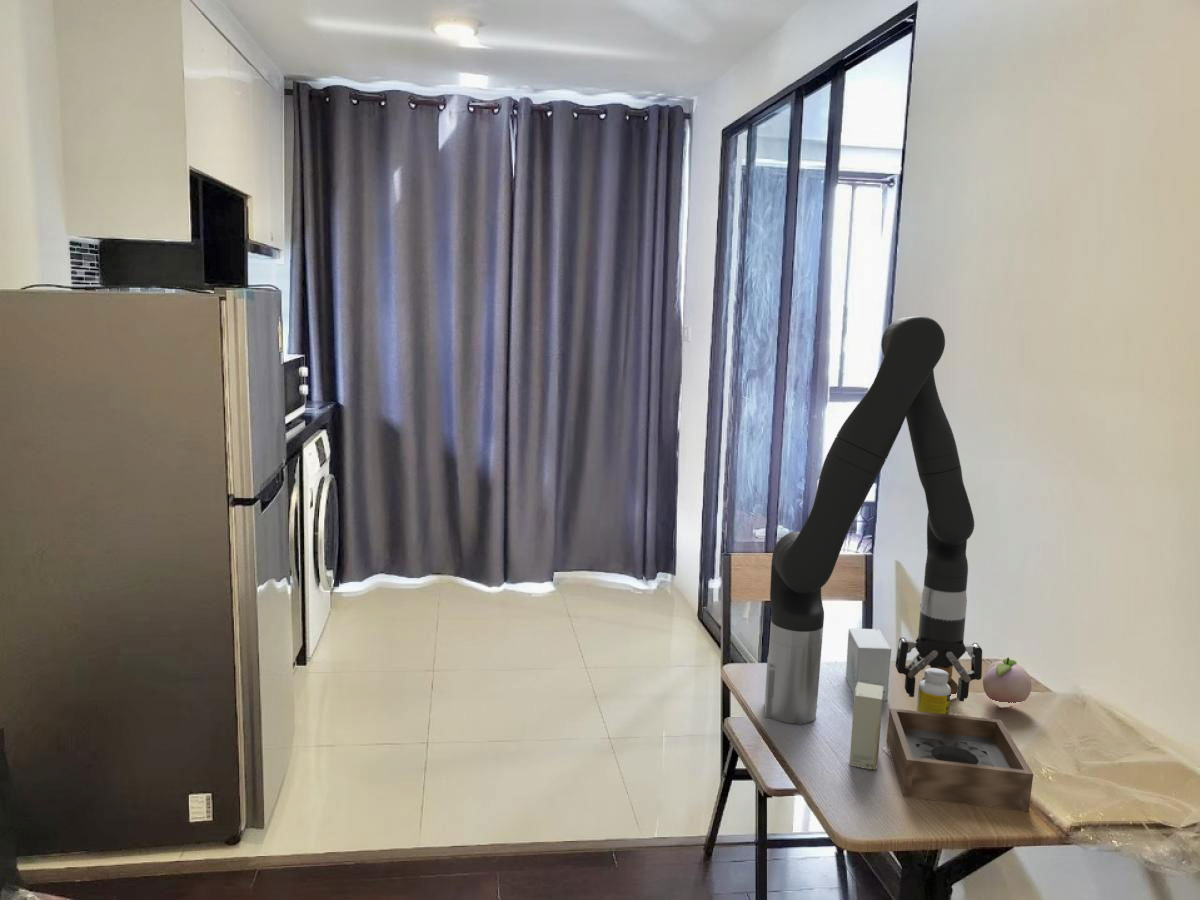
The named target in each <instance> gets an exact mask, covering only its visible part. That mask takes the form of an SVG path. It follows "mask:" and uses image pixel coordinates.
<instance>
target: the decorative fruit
mask: <svg viewBox="0 0 1200 900" xmlns="http://www.w3.org/2000/svg"><path fill="white" fill-rule="evenodd" d="M982 677H983V678H982V687H983V691H984V692H985V695H986V696H988V697H989V698H990V699H992V700H995V701H999V702H1008V703H1010V702H1011V703H1012V702H1013V703H1016V702H1022V701H1024V702H1025V701H1026V700H1027V699H1028V698H1029V696H1030V695H1031V691H1032V681H1031V680H1032V679H1031V677H1030V674H1029V672H1027V670H1026V669H1025V668H1024V667H1023V666H1020V665H1019V664H1018V663H1017V661H1016V660H1014V659H1011V658H1010V657H1007V658H1005V659H1002V660H996V661H994V662H991V663H990V664H989V666H987V668H986V669H985V671H984V675H983V676H982ZM988 697H987V698H988ZM989 698H988V699H989ZM990 699H989V700H990ZM1022 703H1023V702H1022Z"/></svg>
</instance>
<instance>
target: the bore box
mask: <svg viewBox="0 0 1200 900" xmlns="http://www.w3.org/2000/svg"><path fill="white" fill-rule="evenodd" d="M887 722H888V723H887V734H886V744H887V748H888V750H889V749H890V751H889V754H890V753H891V754H890V757H891V756H892V757H891V760H892V759H893V761H892V763H894V764H893V766H894V769H895V770H894V771H895V774H896V776H897V779H898V783H899V787H900V789H901V793H902V797H905V798H912V799H913V798H914V799H922V800H930V801H939V802H945V803H946V802H947V803H955V804H956V803H957V804H964V805H971V806H980V807H990V808H998V809H1005V810H1014V811H1021V812H1030V804H1031V796H1032V788H1033V780H1034V772H1033V771H1032V770H1031V767H1030V766H1029V765H1028V763H1027V761H1026V760H1025V758H1024V756H1023V754H1022V753H1021V751H1020V749H1019V747H1018V746H1017V745H1016V743H1015V741H1014V740H1013V738H1012V736H1011V734H1010V732H1009V731H1008V729H1007V727H1006V726H1005V724H1004V722H1003V720H1001V719H996V718H984V717H976V716H966V715H958V714H957V715H956V714H949V713H948V714H939V713H930V712H920V711H916V710H908V709H901V708H889V712H888V721H887Z"/></svg>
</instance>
